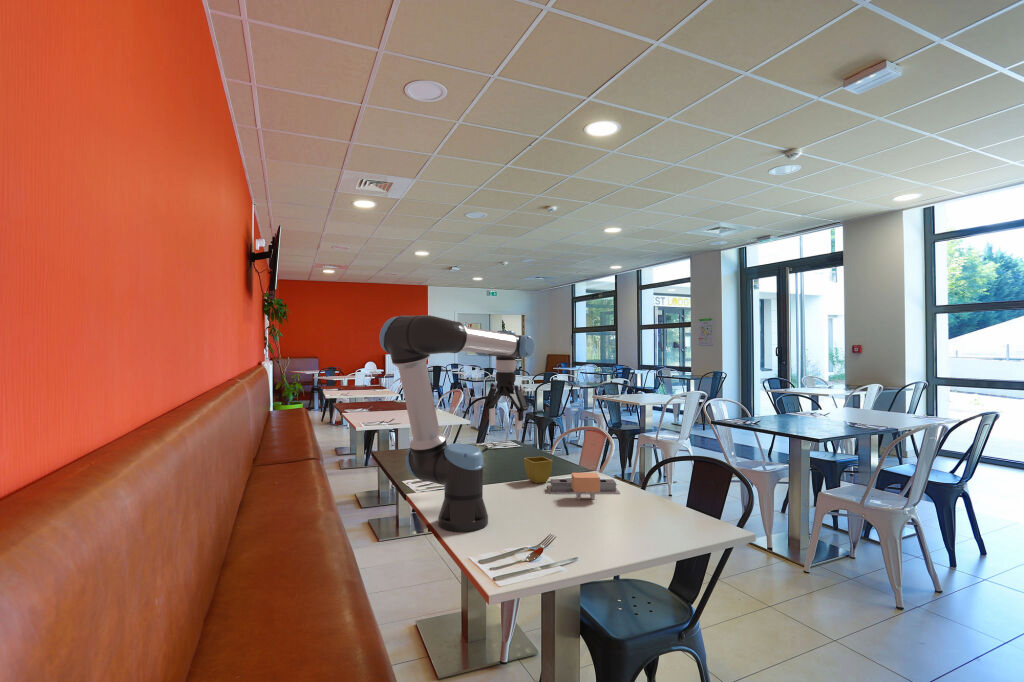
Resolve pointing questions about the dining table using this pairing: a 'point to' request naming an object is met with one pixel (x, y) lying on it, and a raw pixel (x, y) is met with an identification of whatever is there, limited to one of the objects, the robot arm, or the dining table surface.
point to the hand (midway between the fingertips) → (505, 427)
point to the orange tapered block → (585, 484)
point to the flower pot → (538, 469)
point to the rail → (566, 488)
